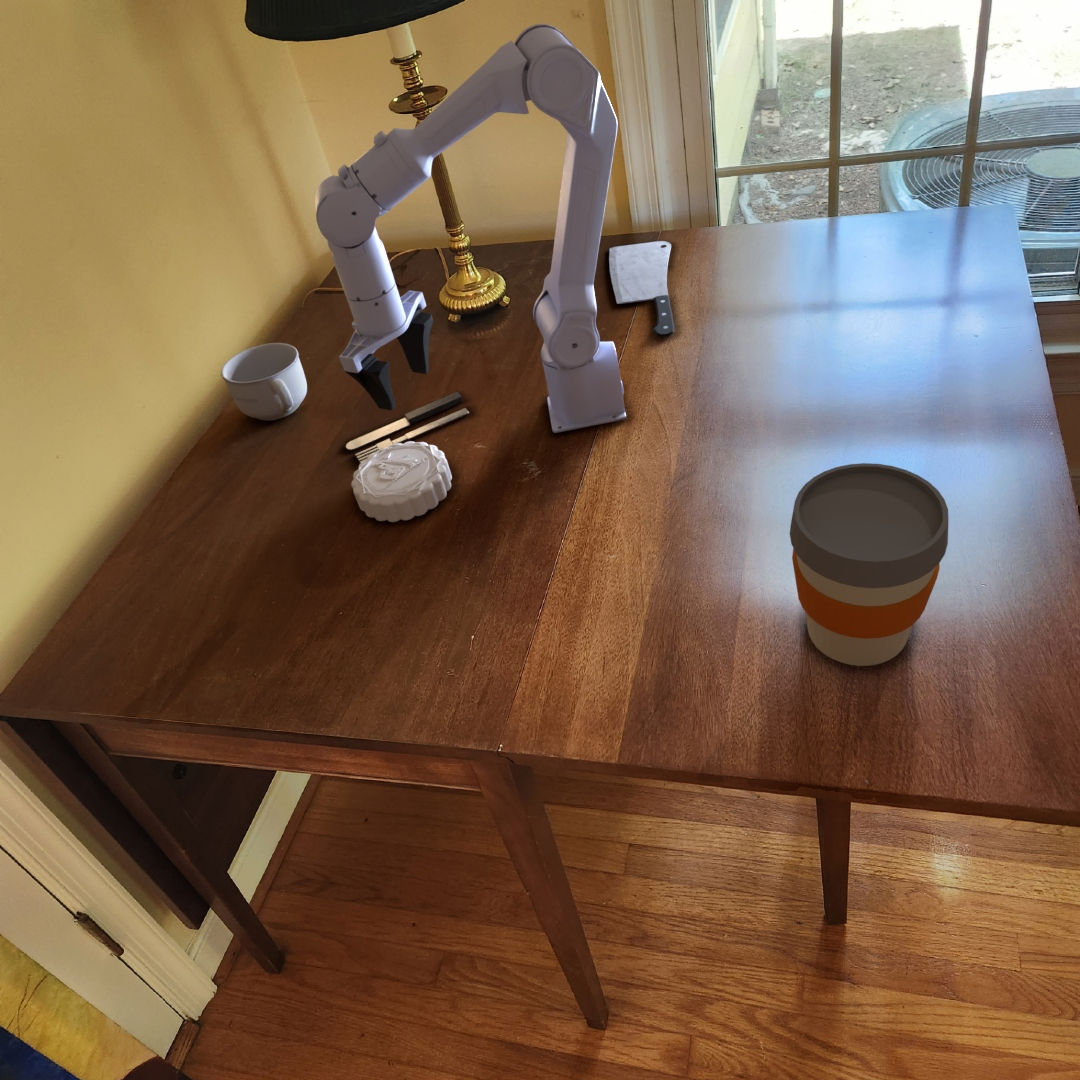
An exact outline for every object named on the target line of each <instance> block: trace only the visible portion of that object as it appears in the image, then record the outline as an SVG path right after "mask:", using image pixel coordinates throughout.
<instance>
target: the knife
mask: <svg viewBox="0 0 1080 1080" xmlns="http://www.w3.org/2000/svg"><path fill="white" fill-rule="evenodd" d="M463 402H464V401H463V397H462V395H461V394H460V393H459V392H458V391H454V392H453V393H451V394H448V395H446V396H443V397H441V398H439V399H437V400H435V401H433V402H430V403H427V404H425V405H423V406H421V407H418V408H416V409H414V410H412V411H409V412H407V413H405V414H404V417H403V418H401V419H399V420H396V421H394V422H392V423H389V424H387V425H385V426H382V427H380V428H377V429H375V430H372V431H371V432H369V433H365V434H363V435H362V436H359V437H357V438H355V439H353V440H350V441H349V442H347V443H346V444H345V448H346V450H347V451H350V452H352V451H356V450H359V449H361V448H364V447H365V446H367V445H370V444H372V443H375V442H377V441H379V440H381V439H383V438H386V437H389V436H390V435H393V434H396V433H397V432H400V431H402V430H404V429H407V428H408V427H411V425H413V424H415V423H417V422H420V421H422V420H425V419H427V418H429V417H432V416H434V415H437V414H439V413H441V412H443V411H446V410H448V409H450V408H452V407H454V406H457V405H459V404H461V403H463Z"/></svg>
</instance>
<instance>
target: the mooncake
mask: <svg viewBox="0 0 1080 1080" xmlns="http://www.w3.org/2000/svg"><path fill="white" fill-rule="evenodd" d="M352 478H353V479H352V481H351V483H350V486H351V488H352V490H353V495H354V498H355V500H356V502H357V505H358V507H359V510H361V512H363V513H365V515H366V516H367V517H368V518H371V519H372V518H373V519H375V520H376V521H379V522H385V521H387V522H389V523H397V522H399V521H410V520H412V519H413V518H414V517H422V516H423V515H425V514H426V513H427V512H428V511H429V510H433V509H435V508H436V507H437V506H438V505H439V502H441V501H443V500H445V499H446V498H447V492H449V491H450V490H451V489H452V482H451V481H452V479H453V475H452V472H451V469H450V466H449V462H448V459H447V458H446V456H445V452H444V451H442V450H440V449H439V448H438V446H436V445H434V444H428V443H427V442H426V441H425V442H424V441H417V442H415V441H412V440H410V441H406V442H404V443H396V444H394V445H390V446H389V447H385V448H382V449H380V450H378V451H377V452H376V453H374V454H371V455H370V456H369V457H368V458H367V460H366V461H364V462H362V463H361V464H360V463H359V465H358V467H357V469H356V470H355V471H354V472H353V473H352Z"/></svg>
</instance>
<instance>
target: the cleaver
mask: <svg viewBox="0 0 1080 1080" xmlns="http://www.w3.org/2000/svg"><path fill="white" fill-rule="evenodd" d="M671 249H672V244H671V243H670V242H668V241H665V240H658V241H657V240H656V241H650V242H643V243H642V242H641V243H635V244H628V245H619V246H613V247H609V253H608V254H609V255H608V261H609V262H608V263H609V274H610V278H611V279H610V281H611V285H612V289H613V293H614V297H615V301H616V304H617V305H618V304H619V305H624V304H631V303H639V302H640V303H641V302H647V301H654V306H655V312H656V325H655V327H654V328H652V332H653V333H654V334H655V335H656V336H657V337H659V338H667V337H670V336H671V335H673V334H674V332H675V330H676V329H675V323H674V317H673V311H672V307H671V301H670V300H671V299H670V296H669V291H668V289H669V288H668V266H669V261H670V260H669V259H670V254H671Z"/></svg>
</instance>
